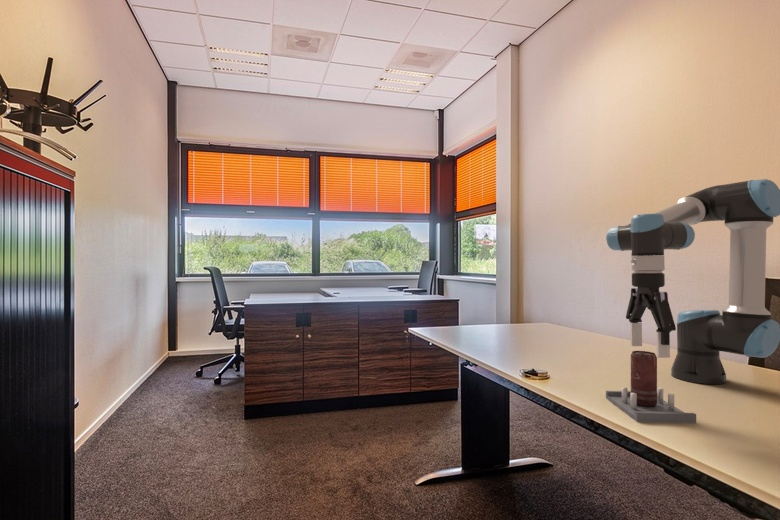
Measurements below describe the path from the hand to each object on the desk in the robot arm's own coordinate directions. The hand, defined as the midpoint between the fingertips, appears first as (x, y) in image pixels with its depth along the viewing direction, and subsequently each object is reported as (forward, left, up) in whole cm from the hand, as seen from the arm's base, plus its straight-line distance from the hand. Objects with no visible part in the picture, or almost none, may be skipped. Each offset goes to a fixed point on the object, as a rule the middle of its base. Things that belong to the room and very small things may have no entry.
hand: (649, 351), depth 113 cm
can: (0, -2, -15) cm, 15 cm away
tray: (0, 0, -16) cm, 16 cm away
